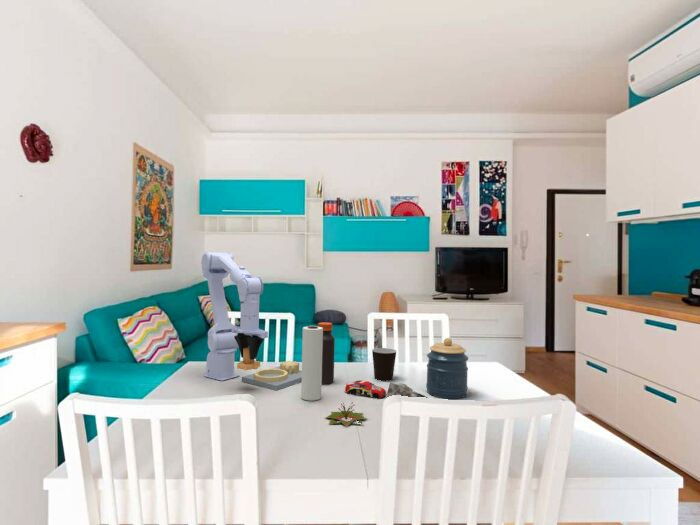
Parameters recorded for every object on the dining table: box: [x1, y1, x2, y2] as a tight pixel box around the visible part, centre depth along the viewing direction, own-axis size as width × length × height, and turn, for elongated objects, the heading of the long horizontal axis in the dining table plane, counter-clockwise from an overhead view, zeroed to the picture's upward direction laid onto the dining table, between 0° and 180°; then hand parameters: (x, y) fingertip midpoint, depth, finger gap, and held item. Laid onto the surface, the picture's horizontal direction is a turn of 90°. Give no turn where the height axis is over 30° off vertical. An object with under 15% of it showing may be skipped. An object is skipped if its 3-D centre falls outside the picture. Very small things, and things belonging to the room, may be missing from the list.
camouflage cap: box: [385, 381, 428, 399], centre depth 123 cm, size 7×11×10 cm
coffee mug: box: [371, 347, 397, 382], centre depth 152 cm, size 12×9×10 cm
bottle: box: [317, 321, 336, 386], centre depth 145 cm, size 7×7×20 cm
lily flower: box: [324, 401, 368, 428], centre depth 112 cm, size 12×12×5 cm
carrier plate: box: [241, 360, 302, 391], centre depth 147 cm, size 16×19×4 cm
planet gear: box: [236, 347, 261, 371], centre depth 135 cm, size 7×7×6 cm
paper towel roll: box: [300, 324, 323, 402], centre depth 129 cm, size 7×6×21 cm
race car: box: [344, 379, 387, 399], centre depth 133 cm, size 13×5×4 cm, turn 65°
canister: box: [425, 337, 469, 400], centre depth 136 cm, size 13×13×18 cm
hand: (248, 358), depth 135 cm, fingers closed on planet gear, 3 cm apart
